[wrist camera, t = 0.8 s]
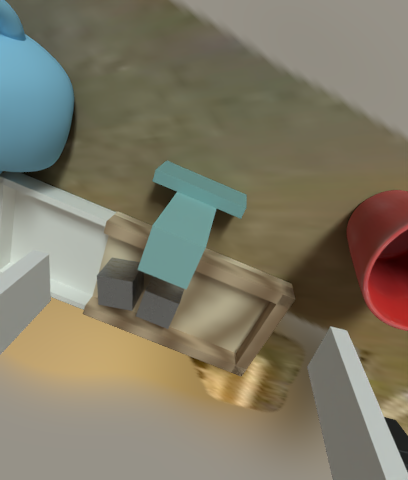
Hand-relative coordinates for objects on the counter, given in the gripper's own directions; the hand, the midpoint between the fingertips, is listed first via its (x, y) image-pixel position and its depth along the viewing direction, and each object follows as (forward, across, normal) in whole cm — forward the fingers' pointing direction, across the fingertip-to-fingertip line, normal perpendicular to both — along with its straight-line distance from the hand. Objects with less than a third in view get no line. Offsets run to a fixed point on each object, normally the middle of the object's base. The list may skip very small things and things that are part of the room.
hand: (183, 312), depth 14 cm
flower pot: (+20, +18, +1) cm, 26 cm away
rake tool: (+20, -2, -2) cm, 20 cm away
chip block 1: (+18, -8, -13) cm, 24 cm away
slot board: (+20, -1, -14) cm, 24 cm away
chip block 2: (+18, -3, -14) cm, 23 cm away
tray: (+20, -18, -11) cm, 29 cm away
